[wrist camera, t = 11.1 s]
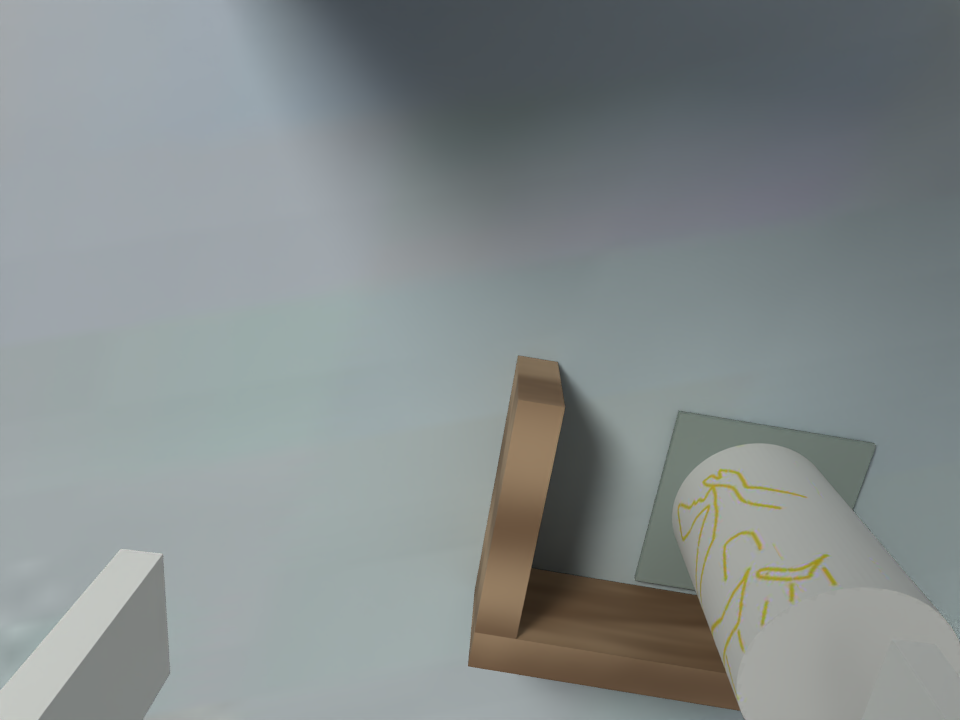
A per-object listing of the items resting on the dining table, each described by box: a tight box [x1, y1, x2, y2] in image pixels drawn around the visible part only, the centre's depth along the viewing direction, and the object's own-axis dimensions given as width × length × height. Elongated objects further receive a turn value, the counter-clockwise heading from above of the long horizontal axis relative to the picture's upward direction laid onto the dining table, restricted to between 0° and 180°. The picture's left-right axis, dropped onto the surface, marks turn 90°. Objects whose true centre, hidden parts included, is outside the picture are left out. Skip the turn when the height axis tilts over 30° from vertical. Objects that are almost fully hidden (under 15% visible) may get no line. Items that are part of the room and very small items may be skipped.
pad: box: [635, 411, 876, 590], centre depth 39 cm, size 10×10×1 cm
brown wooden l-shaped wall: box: [468, 356, 741, 711], centre depth 36 cm, size 14×20×6 cm
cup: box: [672, 443, 960, 720], centre depth 33 cm, size 8×8×12 cm
